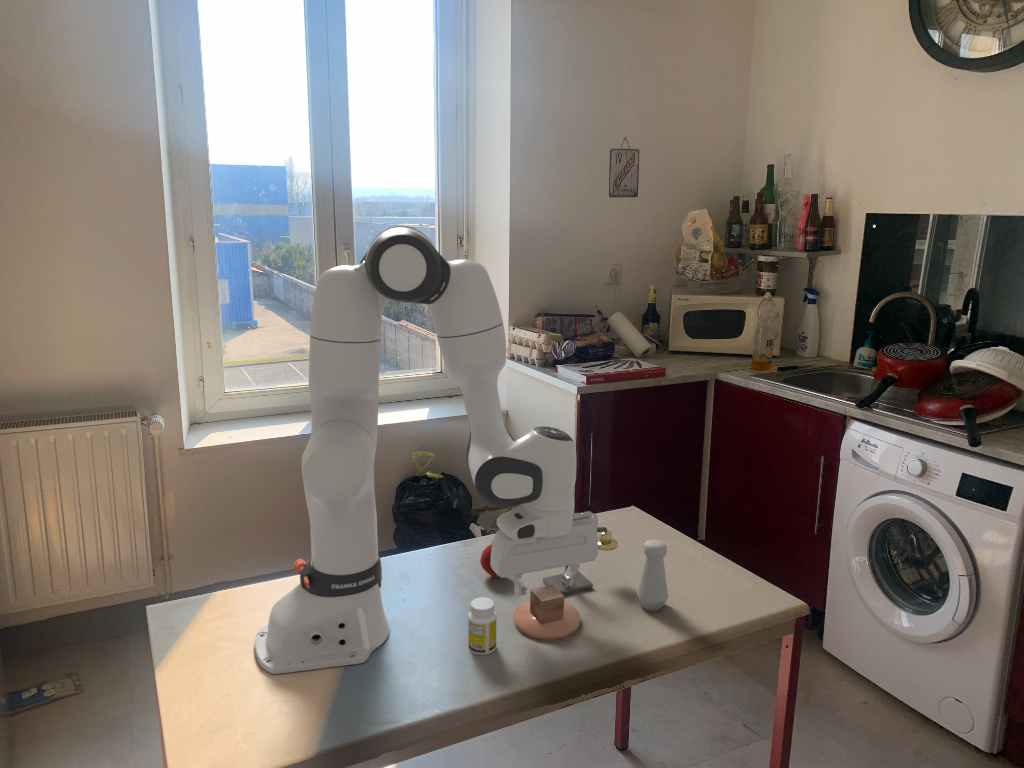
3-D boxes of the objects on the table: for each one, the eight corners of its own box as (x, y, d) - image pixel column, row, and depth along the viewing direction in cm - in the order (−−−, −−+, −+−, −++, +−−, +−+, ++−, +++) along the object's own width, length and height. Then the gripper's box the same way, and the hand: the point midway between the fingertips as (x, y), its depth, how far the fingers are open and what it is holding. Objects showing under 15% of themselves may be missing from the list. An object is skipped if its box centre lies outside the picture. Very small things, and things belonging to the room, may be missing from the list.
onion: (510, 570, 152) (510, 535, 151) (507, 584, 147) (508, 547, 145) (482, 569, 153) (482, 533, 151) (478, 582, 147) (478, 545, 145)
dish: (531, 646, 126) (532, 639, 126) (503, 611, 137) (503, 606, 136) (591, 630, 131) (592, 624, 131) (559, 598, 142) (559, 593, 141)
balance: (525, 603, 140) (527, 535, 137) (511, 589, 145) (513, 523, 142) (621, 581, 149) (625, 517, 146) (606, 568, 154) (609, 506, 151)
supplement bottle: (490, 637, 128) (491, 594, 127) (500, 652, 124) (500, 607, 122) (464, 642, 127) (464, 598, 125) (473, 658, 123) (473, 612, 121)
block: (529, 612, 135) (530, 589, 134) (551, 607, 137) (552, 584, 135) (541, 624, 131) (541, 601, 130) (563, 619, 133) (564, 596, 132)
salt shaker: (642, 594, 144) (646, 533, 141) (671, 602, 141) (675, 540, 138) (631, 607, 139) (635, 544, 136) (660, 616, 136) (665, 552, 133)
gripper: (589, 503, 136) (584, 571, 140) (488, 518, 128) (485, 590, 131) (607, 516, 131) (602, 587, 134) (503, 532, 122) (499, 608, 125)
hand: (543, 589), depth 132 cm, fingers open, 8 cm apart
